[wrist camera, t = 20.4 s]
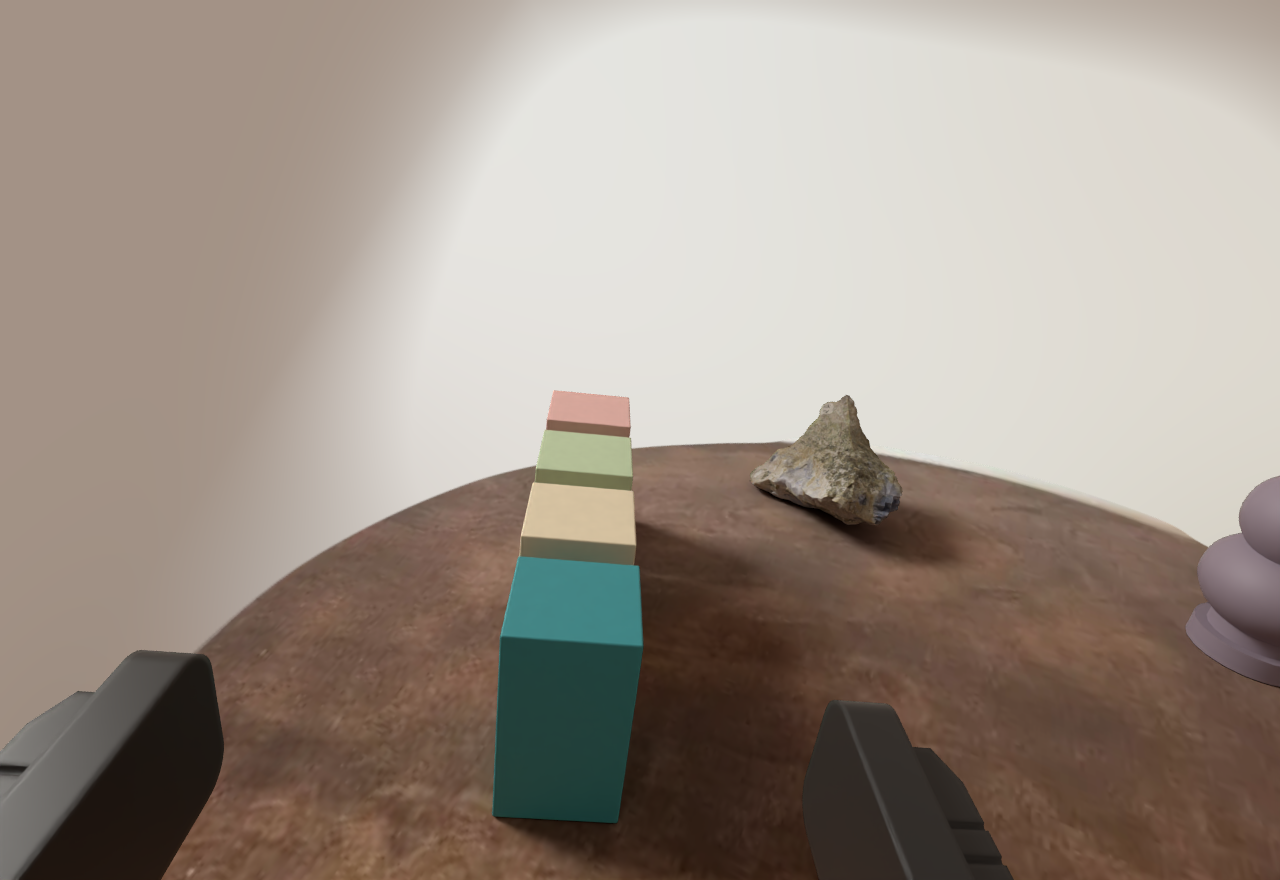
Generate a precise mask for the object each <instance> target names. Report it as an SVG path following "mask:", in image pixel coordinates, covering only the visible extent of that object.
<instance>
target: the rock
mask: <svg viewBox="0 0 1280 880" xmlns="http://www.w3.org/2000/svg"><path fill="white" fill-rule="evenodd" d="M750 477H751V480H750V481H751V482H752V484H753V485H754V486H756V487H757V488H760V489H763V490H766V491H768V492H770V493H771V494H773V495H774V496H776V497H779V498H781V499H786V500H790V501H792V502H793V503H796V504H798V505H801V506H803V507H810V508H818V509H821V510H822V511H824V512H826V513H829V514H830V515H832V516H834V517H835V518H837V519H839V520H842V521H843V522H844V523H845V524H848V525H852V524H859V523H861V522H866V523H868V524H871V525H879V523H880V522H881V521H883V520H884V519H885V518H887V516H888V514H889V512H892V511H895V510H898V506H899V503H900V501H899V498H900V496H902V492H903V491H902V487H901V486H900V484H899V483H898V480H897V478H896V476H895V473H894V472H893V471H892V470H891V469H890V468H889V467H887V466H886V465H885V464H884V463H883V462H882V461H881V460H880V459H879V458H878V456H877V455H876V454H875V453H874V452H873V450H872V449H870V444H869V440H868V439H867V438H866V436H865V435H864V433H863V432H862V429H861V427H860V423H859V419H858V417H857V409H856V407H855V406H854V401H853V400H852V399H851V398H850V396H848V395H846V396H844V397H842V398H841V400H839V401H837V402H827V403H826V404H824V405H823V406H822V408H821V409H820V415H819V417H818V419H816V420H815V421H814V422H813V423H812V424H811V425H810V426H809V427H808V429H807V431H806V432H805V434H804V435H803V436H801V437H800V438H799V440H797V441H796V442H795V443H794V444H793V445H792V446H788V447H786V448H783V449H778V450H777V451H776V452H775V453H774V454H773V455H772V456H771V457H770V459H769V460H767V461H766V462H765V463H764V465H760V466H758V467H757V468H756V469H754V470H753V471H752V472H751V473H750Z"/></svg>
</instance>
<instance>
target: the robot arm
mask: <svg viewBox="0 0 1280 880" xmlns="http://www.w3.org/2000/svg"><path fill="white" fill-rule="evenodd" d="M223 753H224V741H223V734H222V727H221V721H220V715H219V709H218V702H217V696H216V690H215V683H214V677H213V671H212V666H211V662H210V660H209V659H208V657H207V656H205V655H203V654H191V653H176V652H162V651H147V650H139V651H136V652H134V653H132V654H130V655H129V656H128V657H127V658H125V659H124V661H123V662H122V663H121V664H120V665H119V666H118V667H117V668H116V669H115V670H114V672H113V673H112V674H111V675H110V676H109V677H108V678H107V679H106V681H105V682H104V683H103V684H102V685H101V686H100V687H99V688H98V689H97V691H96V692H82V691H77V692H76V693H74V694H73V695H71V696H69V697H68V698H67V699H65V700H63V701H62V702H60V703H59V704H57V705H55V706H54V707H52V708H51V709H49V710H48V711H46V712H45V713H43V714H41V715H40V716H39V717H37V718H35V719H34V720H32V721H31V722H29V723H27V724H26V725H25V726H24V727H23V728H22V730H21V731H19V733H18V734H17V735H16V736H15V737H14V738H13V739H12V740H11V741H10V742H9V743H8V744H7V745H6V746H5V747H4V748H3V749H2V750H1V751H0V880H161V879H162V877H163V875H164V873H165V872H166V870H167V868H168V867H169V865H170V863H171V862H172V860H173V858H174V857H175V855H176V853H177V851H178V850H179V848H180V846H181V845H182V843H183V841H184V840H185V838H186V836H187V835H188V833H189V831H190V829H191V828H192V826H193V824H194V823H195V821H196V819H197V818H198V816H199V814H200V813H201V811H202V809H203V807H204V806H205V804H206V802H207V801H208V799H209V797H210V795H211V793H212V791H213V789H214V787H215V785H216V782H217V779H218V776H219V773H220V769H221V765H222V760H223ZM803 817H804V824H805V829H806V833H807V837H808V841H809V845H810V848H811V852H812V856H813V859H814V863H815V867H816V871H817V874H818V878H819V880H1014V879H1013V877H1012V876H1011V874H1010V872H1009V870H1008V868H1007V866H1004V865H1003V864H1002V861H1001V857H1002V856H1001V854H1000V853H999V851H998V849H997V847H996V845H995V843H994V841H993V839H992V837H991V835H990V833H989V831H985V830H984V822H983V820H982V818H981V816H980V814H979V812H978V810H977V809H976V807H975V805H974V803H973V801H972V799H971V797H970V795H969V793H968V791H967V789H966V787H965V786H964V784H963V782H962V781H961V780H960V779H959V778H958V777H957V776H956V775H955V774H954V773H953V772H952V771H951V770H950V769H949V767H948V766H947V765H946V764H945V763H944V762H943V761H942V760H941V759H940V758H939V757H938V756H937V755H936V754H935V753H934V752H933V751H932V749H931V748H918V747H912V745H911V743H910V741H909V739H908V736H907V734H906V732H905V730H904V728H903V726H902V724H901V722H900V720H899V717H898V715H897V714H896V712H895V710H894V709H893V708H892V707H891V706H890V705H888V704H884V703H870V702H855V701H841V700H832V701H831V702H830V703H829V704H828V706H827V708H826V710H825V713H824V716H823V720H822V723H821V726H820V730H819V733H818V736H817V740H816V743H815V746H814V750H813V753H812V756H811V759H810V763H809V766H808V769H807V773H806V776H805V780H804V786H803Z"/></svg>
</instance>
